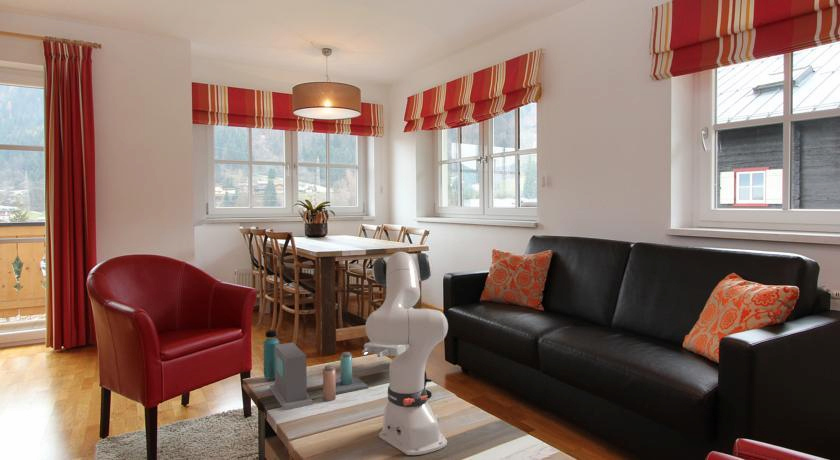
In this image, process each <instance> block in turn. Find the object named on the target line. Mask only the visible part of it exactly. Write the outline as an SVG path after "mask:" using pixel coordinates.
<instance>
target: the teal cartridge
mask: <svg viewBox="0 0 840 460" xmlns="http://www.w3.org/2000/svg"><path fill="white" fill-rule="evenodd" d="M339 358H340V360H339V361H340V378H341V385H351V384H352V376H353V355H352V354H351V352H350V351H344V352H342V353H341V354H340V357H339Z"/></svg>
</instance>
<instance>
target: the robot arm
mask: <svg viewBox="0 0 840 460" xmlns="http://www.w3.org/2000/svg"><path fill="white" fill-rule="evenodd" d="M371 270H372V271H371V272H372V274H371V275H372V276H373V279H374V280H375V283H376V284H377V285H379V286H386V293H385V299H384V302H383V303H382V304H381V305H380V307H379V308H377V309H375V310H374V311H372V312H371V313H370V314H369V315H368V317H367V319H366V321H365V334H366V336H367V338H368V339H369V341H368V342H365V343H364V345H363V347H364V348H363V349H364V350H362V351H361V355H362V356H366V355H367V356H368V355H369V354H375V355H377V357H378V358H383V357H387V356H391V357H394V358H392V360H391V361H390V363H389V367H388V369H389V370H388V371H389V373H388V377H389V379H388V380H389V381H388V383H389V385H388V387H387V392H386V393H387V400H388V401H387V404H386V405H385V407H384V410H383V418H382V419H383V420H382V429H381V431H380V432H379V433H378V437H379V439H382V440H383V441H384V442H386V443H388V444H389V445H391V446H393V447H394V448H396V449H397V450H399V451H400V452H402V453H403V454H405V455H407V456H417V455H425V454H430V453H433V452H435V451H438V450H441V449H443V448H445V447H446V446H447V445H448V440H447V439H446V437H445V436H444V434H443V433H442V432H441V431H440V425H439V422H440V416H439V415H438V414H435V413H434V412H433V408H432V407H431V406H430V405H429V403H428V398H427V396H428V395H427V392H426V390H427V389H426V386H424V375H425V371H426V365H427V361H428V358H429V355H430V354H431V352H432V351H433V349H434V348H436V346H437V345H438V344H439V343H441V342H442V341H443V340H444V339H445V338H446V336H447V334H448V330H449V323H448V319H447V317H446V316H445V314H444V313H443V312H442V311H441V310H437V309H432V308H414V306H415V305H416V304H417V303H418V302H419V300H420V298H421V288H420V282H424V281H426V280H429V279H430V277H431V276H432V275H431V274H432V271H433V264H432V262H431V259H430V258H429V255H428V254H426V253H423V252H417V253H408V252H405V251H396V252H394V253H392V254H391V255H390V256H386V257H383V256H382V257H379V258H376V259H375V261H374V262H373V266H372V269H371Z"/></svg>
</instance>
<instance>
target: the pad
mask: <svg viewBox="0 0 840 460" xmlns="http://www.w3.org/2000/svg"><path fill="white" fill-rule="evenodd" d="M367 389H369V385H368V384H367V383H365V381H363V380H362V379H361V378H359V376H357V375H356V374H355V375H352V384H351V385H341V377H340V378H338V377H337V378H336V396H337V395H341V394H342V395H343V394H346V393H351V392H356V391H361V390H367Z"/></svg>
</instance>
